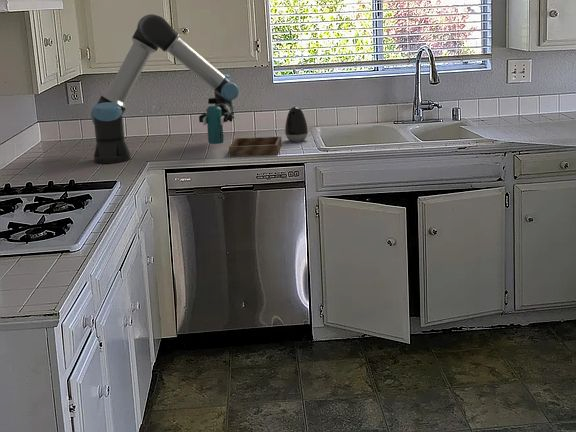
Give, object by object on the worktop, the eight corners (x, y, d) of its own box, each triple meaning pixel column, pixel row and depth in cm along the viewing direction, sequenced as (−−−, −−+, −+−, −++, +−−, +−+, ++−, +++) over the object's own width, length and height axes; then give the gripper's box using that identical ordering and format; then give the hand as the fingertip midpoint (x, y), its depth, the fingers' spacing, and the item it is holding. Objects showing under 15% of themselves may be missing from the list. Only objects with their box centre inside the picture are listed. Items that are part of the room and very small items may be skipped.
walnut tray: (229, 156, 356) (229, 147, 355) (235, 147, 376) (235, 138, 374) (278, 154, 355) (277, 145, 354) (281, 145, 374) (281, 136, 373)
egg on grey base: (282, 143, 380) (280, 108, 376) (289, 138, 389) (287, 105, 385) (304, 143, 377) (303, 108, 373) (311, 138, 386) (309, 104, 382)
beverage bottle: (222, 147, 356) (219, 99, 351) (206, 147, 357) (203, 99, 352) (225, 144, 362) (222, 96, 357) (210, 144, 363) (207, 97, 358)
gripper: (243, 121, 374) (236, 130, 352) (199, 122, 376) (189, 131, 354) (242, 104, 372) (235, 111, 350) (198, 105, 374) (188, 113, 352)
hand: (212, 121), depth 352 cm, fingers closed on beverage bottle, 6 cm apart
